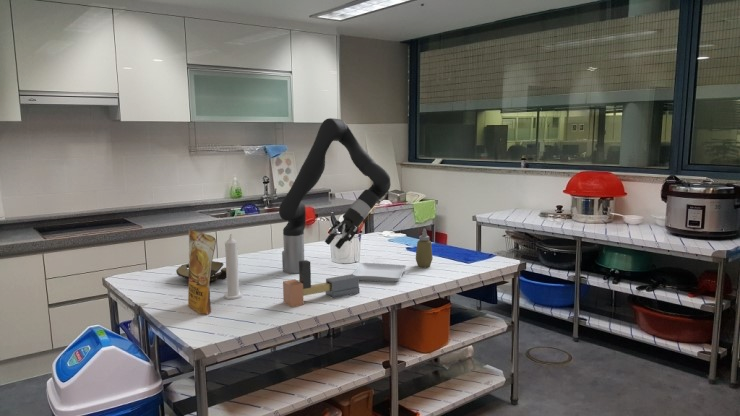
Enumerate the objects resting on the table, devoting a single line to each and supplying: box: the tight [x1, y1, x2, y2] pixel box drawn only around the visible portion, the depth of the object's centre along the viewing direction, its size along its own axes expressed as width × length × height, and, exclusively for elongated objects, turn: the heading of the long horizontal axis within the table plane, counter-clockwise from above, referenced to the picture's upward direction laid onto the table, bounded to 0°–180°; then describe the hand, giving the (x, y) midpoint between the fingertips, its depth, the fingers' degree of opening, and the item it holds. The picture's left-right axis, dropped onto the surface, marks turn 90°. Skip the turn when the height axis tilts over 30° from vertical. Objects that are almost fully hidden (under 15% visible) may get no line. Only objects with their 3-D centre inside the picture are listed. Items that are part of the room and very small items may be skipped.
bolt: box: [298, 259, 331, 297], centre depth 202 cm, size 20×3×13 cm, turn 122°
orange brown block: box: [282, 278, 305, 308], centre depth 198 cm, size 5×7×8 cm
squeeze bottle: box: [415, 228, 433, 268], centre depth 249 cm, size 8×8×18 cm
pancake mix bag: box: [187, 229, 217, 315], centre depth 191 cm, size 7×19×28 cm, turn 39°
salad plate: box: [352, 262, 407, 283], centre depth 234 cm, size 21×21×3 cm
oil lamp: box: [175, 260, 227, 282], centre depth 228 cm, size 22×30×8 cm
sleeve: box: [325, 273, 361, 299], centre depth 209 cm, size 12×6×6 cm, turn 122°
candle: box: [223, 233, 244, 300], centre depth 205 cm, size 7×7×25 cm
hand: (331, 245), depth 204 cm, fingers open, 8 cm apart
